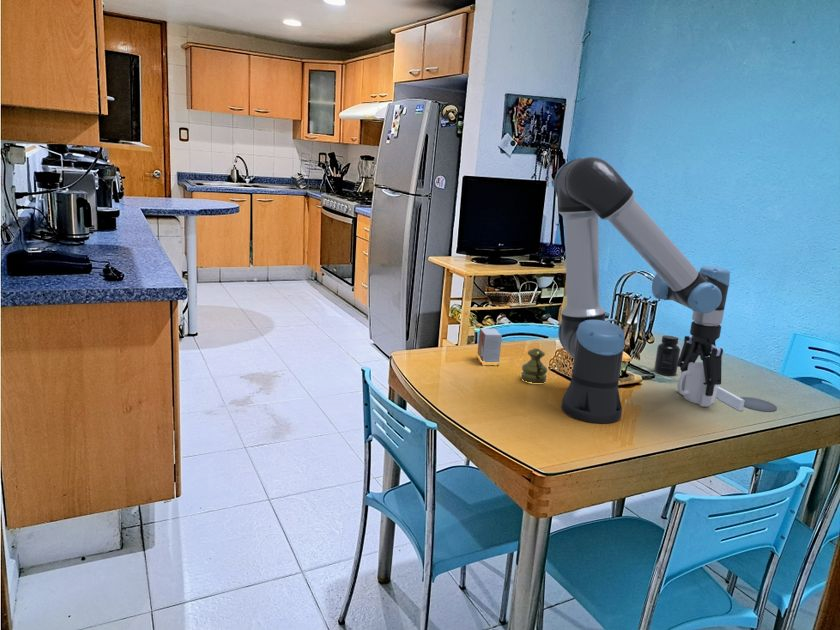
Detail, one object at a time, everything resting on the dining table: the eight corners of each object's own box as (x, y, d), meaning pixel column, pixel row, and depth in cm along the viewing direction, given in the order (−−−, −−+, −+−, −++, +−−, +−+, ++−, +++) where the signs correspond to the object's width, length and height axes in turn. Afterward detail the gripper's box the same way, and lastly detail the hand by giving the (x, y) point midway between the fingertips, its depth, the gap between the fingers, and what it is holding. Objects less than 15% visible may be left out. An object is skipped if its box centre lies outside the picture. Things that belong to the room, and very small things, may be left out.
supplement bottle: (680, 374, 190) (686, 338, 187) (668, 377, 186) (674, 341, 183) (661, 368, 195) (667, 333, 193) (649, 371, 192) (654, 335, 189)
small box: (476, 358, 194) (479, 327, 192) (493, 358, 195) (496, 328, 192) (482, 366, 186) (484, 334, 184) (499, 366, 187) (502, 334, 185)
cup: (721, 404, 164) (727, 370, 162) (685, 406, 161) (691, 371, 159) (700, 394, 172) (706, 361, 170) (665, 395, 169) (671, 362, 167)
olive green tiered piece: (544, 387, 170) (547, 354, 168) (518, 382, 173) (522, 350, 170) (547, 379, 177) (550, 347, 175) (522, 375, 179) (525, 344, 177)
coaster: (753, 411, 160) (753, 410, 160) (728, 398, 170) (728, 397, 170) (785, 411, 162) (785, 410, 162) (759, 398, 171) (759, 396, 171)
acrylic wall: (738, 410, 160) (740, 400, 160) (706, 392, 174) (708, 382, 173) (742, 410, 161) (744, 400, 160) (710, 392, 174) (711, 382, 173)
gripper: (746, 333, 152) (731, 414, 157) (694, 313, 173) (683, 385, 178) (720, 332, 150) (706, 414, 156) (671, 313, 171) (660, 386, 176)
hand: (693, 399), depth 167 cm, fingers open, 9 cm apart
